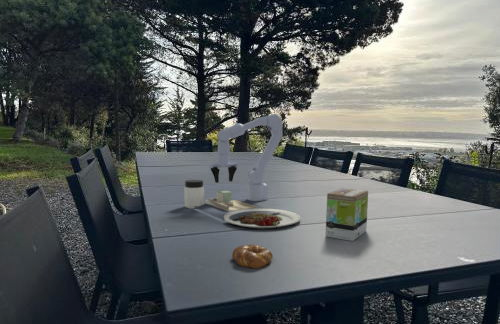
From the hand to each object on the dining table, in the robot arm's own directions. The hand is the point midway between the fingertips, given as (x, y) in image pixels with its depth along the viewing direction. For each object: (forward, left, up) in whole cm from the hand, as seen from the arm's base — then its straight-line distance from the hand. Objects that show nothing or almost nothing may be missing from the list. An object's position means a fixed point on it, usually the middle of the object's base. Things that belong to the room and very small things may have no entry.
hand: (223, 182), depth 182 cm
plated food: (+5, +41, -10) cm, 43 cm away
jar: (+17, +3, -10) cm, 20 cm away
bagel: (+32, +77, -10) cm, 85 cm away
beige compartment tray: (+3, +13, -10) cm, 17 cm away
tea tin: (+5, +9, -9) cm, 14 cm away
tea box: (-9, +72, -10) cm, 73 cm away
